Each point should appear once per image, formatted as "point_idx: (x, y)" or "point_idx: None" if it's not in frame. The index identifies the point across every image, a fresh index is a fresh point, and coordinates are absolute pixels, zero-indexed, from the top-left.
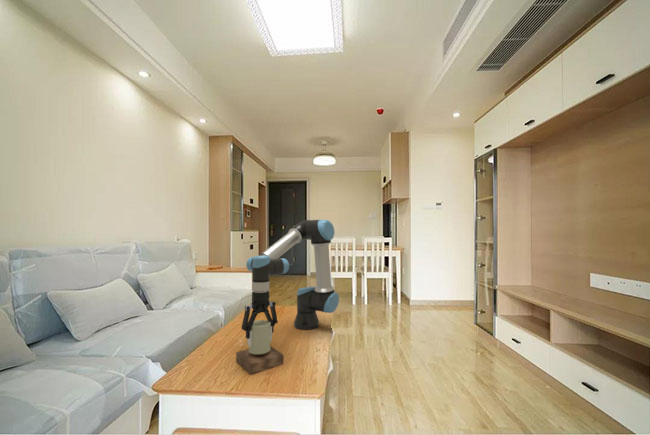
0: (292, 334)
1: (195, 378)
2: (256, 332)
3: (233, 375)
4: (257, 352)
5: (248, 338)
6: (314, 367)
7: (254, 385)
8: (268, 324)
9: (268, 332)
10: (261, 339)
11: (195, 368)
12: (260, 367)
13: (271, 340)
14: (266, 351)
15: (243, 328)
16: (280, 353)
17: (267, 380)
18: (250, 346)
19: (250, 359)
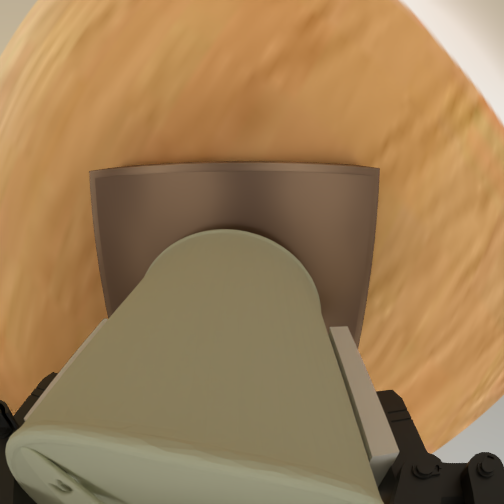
0: (13, 409)
1: None
2: (333, 402)
3: (425, 229)
4: (288, 257)
5: (380, 393)
6: (32, 45)
7: (386, 49)
8: (33, 440)
9: (103, 337)
10: (251, 295)
11: (470, 385)
12: (291, 162)
13: (103, 323)
14: (201, 235)
15: (499, 476)
16: (100, 196)
17: (304, 41)
18: (343, 329)
19: (343, 247)
